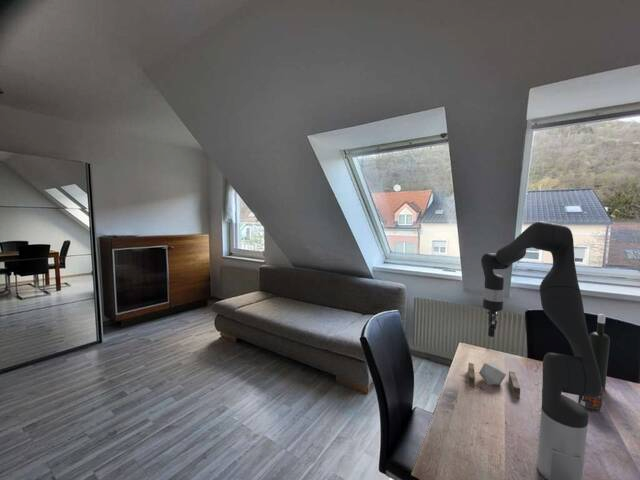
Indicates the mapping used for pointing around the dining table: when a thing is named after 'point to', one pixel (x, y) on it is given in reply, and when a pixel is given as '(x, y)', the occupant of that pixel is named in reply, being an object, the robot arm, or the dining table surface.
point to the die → (492, 374)
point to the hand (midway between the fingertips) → (490, 336)
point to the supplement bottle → (591, 402)
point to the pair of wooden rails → (512, 380)
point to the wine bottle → (601, 347)
